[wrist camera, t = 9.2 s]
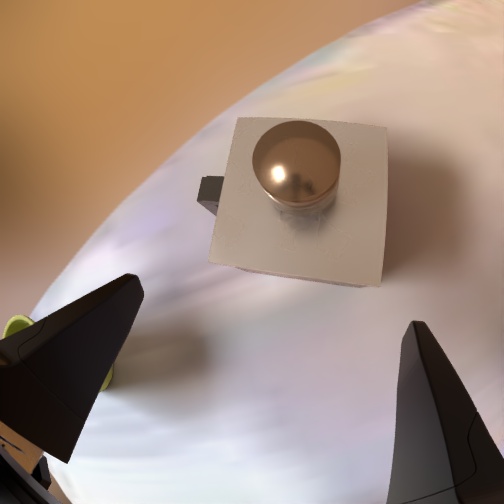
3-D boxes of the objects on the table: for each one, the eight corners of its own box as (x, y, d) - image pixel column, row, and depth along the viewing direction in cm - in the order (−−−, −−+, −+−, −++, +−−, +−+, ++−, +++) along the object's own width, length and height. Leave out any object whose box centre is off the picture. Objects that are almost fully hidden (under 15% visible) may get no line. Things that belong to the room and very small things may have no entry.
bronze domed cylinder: (332, 246, 19) (337, 203, 10) (280, 240, 20) (245, 194, 11) (337, 196, 20) (342, 123, 11) (287, 191, 21) (259, 119, 12)
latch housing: (361, 290, 20) (380, 286, 13) (219, 269, 22) (175, 256, 16) (371, 176, 21) (386, 127, 14) (238, 164, 24) (207, 118, 17)
